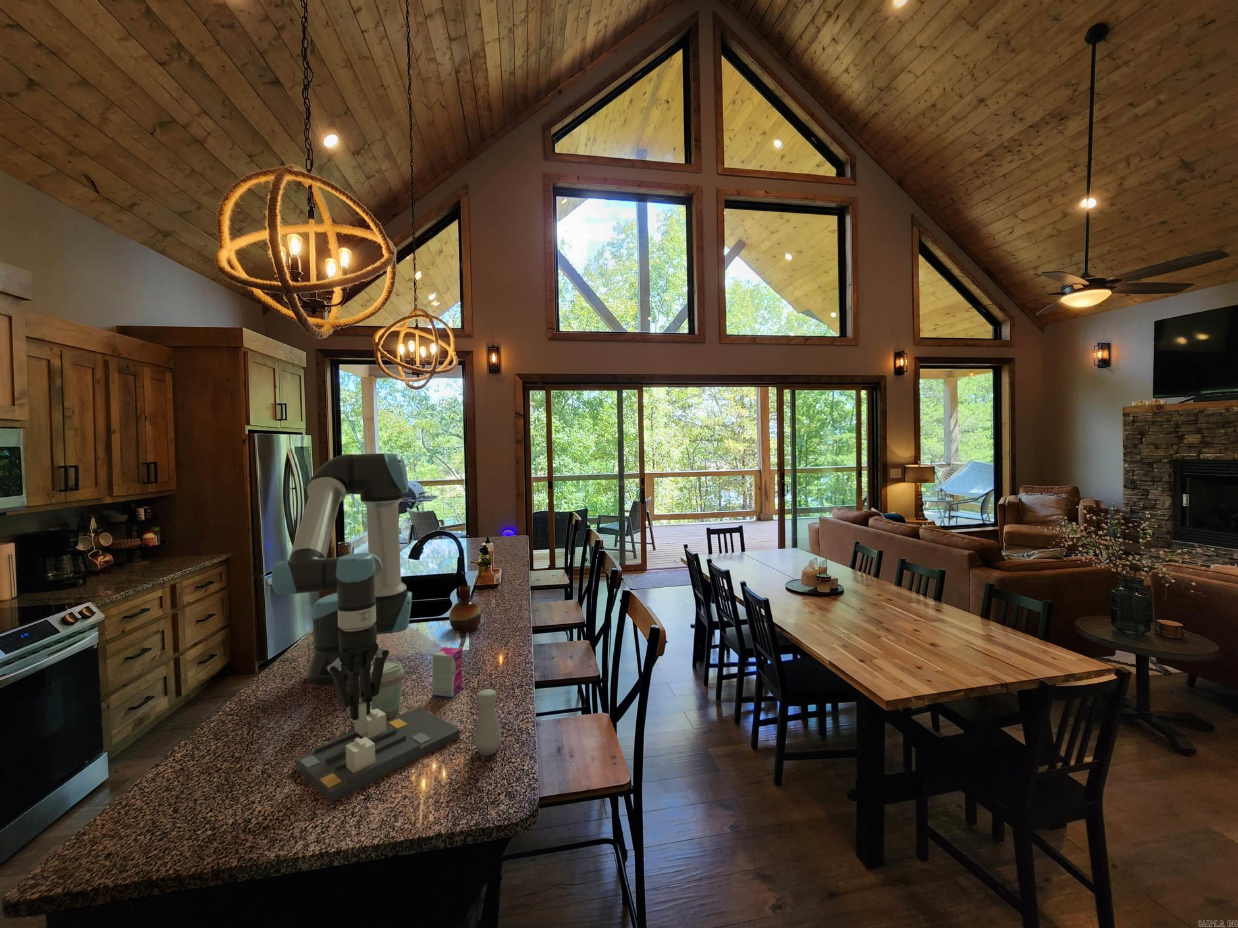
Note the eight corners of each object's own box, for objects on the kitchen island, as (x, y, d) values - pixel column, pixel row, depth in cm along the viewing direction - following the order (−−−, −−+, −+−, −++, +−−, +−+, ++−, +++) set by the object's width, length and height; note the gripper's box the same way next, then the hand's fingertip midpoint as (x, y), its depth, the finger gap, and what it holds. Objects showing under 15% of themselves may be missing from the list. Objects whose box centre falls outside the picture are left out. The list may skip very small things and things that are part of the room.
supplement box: (452, 698, 141) (451, 655, 140) (432, 697, 142) (430, 654, 141) (463, 689, 146) (462, 647, 146) (443, 687, 147) (442, 646, 147)
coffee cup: (368, 726, 127) (366, 676, 127) (366, 710, 135) (365, 664, 134) (406, 717, 131) (405, 669, 131) (403, 702, 139) (401, 657, 138)
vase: (476, 633, 189) (475, 590, 189) (445, 634, 189) (444, 591, 189) (484, 623, 200) (483, 582, 200) (455, 623, 201) (454, 583, 200)
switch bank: (295, 768, 111) (295, 755, 111) (420, 714, 132) (419, 703, 132) (330, 802, 100) (330, 787, 100) (460, 738, 122) (459, 725, 121)
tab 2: (346, 767, 108) (345, 741, 107) (366, 758, 111) (365, 733, 110) (355, 774, 105) (354, 748, 105) (375, 765, 108) (374, 739, 108)
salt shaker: (477, 743, 119) (475, 686, 119) (503, 741, 120) (501, 684, 119) (471, 758, 113) (470, 698, 113) (499, 756, 114) (497, 697, 114)
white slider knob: (360, 734, 120) (359, 712, 119) (377, 727, 123) (377, 705, 122) (368, 740, 117) (367, 717, 117) (386, 733, 120) (385, 710, 120)
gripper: (333, 637, 109) (337, 750, 110) (394, 621, 119) (397, 724, 120) (318, 630, 114) (322, 738, 115) (378, 614, 124) (381, 714, 125)
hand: (360, 731), depth 118 cm, fingers closed
